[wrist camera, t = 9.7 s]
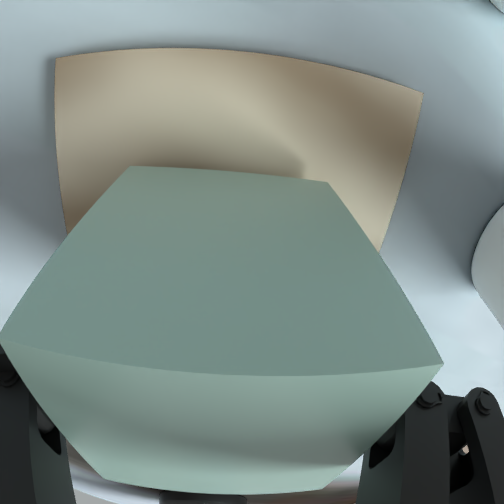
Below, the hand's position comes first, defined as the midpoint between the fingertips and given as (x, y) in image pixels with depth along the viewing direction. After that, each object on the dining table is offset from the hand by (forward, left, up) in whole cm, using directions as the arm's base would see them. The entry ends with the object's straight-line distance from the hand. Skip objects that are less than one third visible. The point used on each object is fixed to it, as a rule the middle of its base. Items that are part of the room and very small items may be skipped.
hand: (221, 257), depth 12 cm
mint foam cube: (0, 0, 0) cm, 0 cm away
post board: (0, 0, -2) cm, 2 cm away
